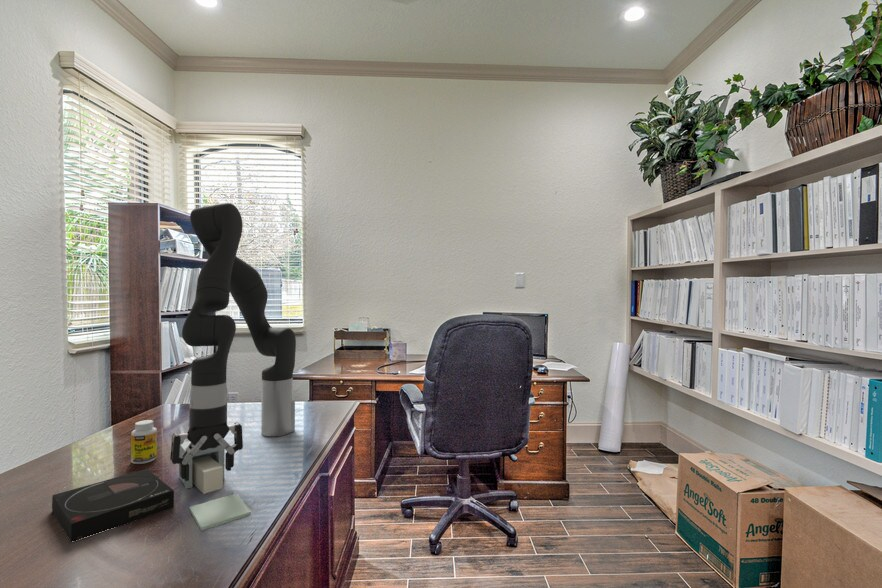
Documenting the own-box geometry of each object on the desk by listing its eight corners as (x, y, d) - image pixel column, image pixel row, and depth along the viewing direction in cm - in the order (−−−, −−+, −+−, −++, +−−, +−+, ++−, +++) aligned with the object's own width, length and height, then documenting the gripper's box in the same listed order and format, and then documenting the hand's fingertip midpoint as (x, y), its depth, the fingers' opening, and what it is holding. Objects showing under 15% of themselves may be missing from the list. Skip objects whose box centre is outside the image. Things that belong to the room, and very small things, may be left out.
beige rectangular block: (207, 475, 105) (207, 454, 105) (222, 488, 98) (222, 466, 98) (189, 480, 102) (189, 459, 102) (203, 494, 95) (203, 472, 95)
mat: (236, 496, 94) (236, 493, 94) (251, 514, 86) (251, 511, 86) (189, 509, 88) (189, 507, 88) (201, 530, 80) (201, 527, 80)
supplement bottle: (130, 466, 109) (130, 426, 109) (131, 459, 113) (131, 421, 113) (156, 462, 112) (156, 423, 112) (156, 455, 116) (156, 417, 116)
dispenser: (215, 467, 108) (215, 432, 108) (224, 478, 102) (224, 441, 102) (179, 476, 103) (179, 439, 103) (186, 488, 97) (186, 449, 97)
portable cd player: (146, 485, 100) (145, 468, 100) (173, 509, 89) (173, 490, 89) (52, 513, 87) (51, 494, 87) (71, 546, 76) (71, 523, 76)
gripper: (237, 395, 104) (236, 461, 104) (168, 404, 95) (167, 477, 95) (247, 401, 98) (246, 471, 98) (175, 412, 89) (174, 489, 89)
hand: (207, 474), depth 96 cm, fingers open, 8 cm apart
